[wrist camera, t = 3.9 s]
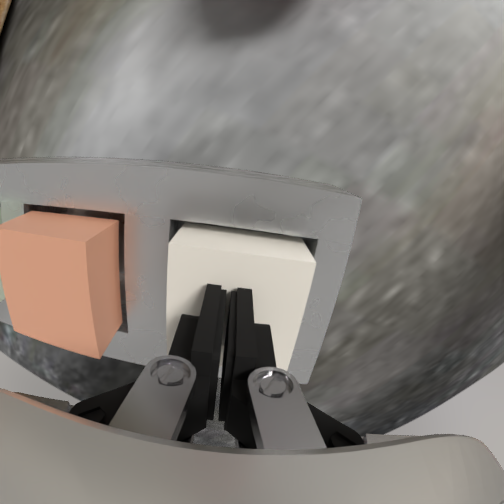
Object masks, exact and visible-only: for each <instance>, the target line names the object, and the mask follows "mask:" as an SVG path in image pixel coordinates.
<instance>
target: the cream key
mask: <svg viewBox="0 0 504 504" xmlns="http://www.w3.org/2000/svg"><path fill="white" fill-rule="evenodd" d="M315 267H316V261H315V259H314V258H313V256H312V255H311V253H310V251H309V250H308V248H307V246H306V245H305V243H304V241H303V240H302V238H298V237H292V236H285V235H278V234H271V233H264V232H256V231H249V230H242V229H234V228H227V227H219V226H212V225H204V224H196V223H188V222H185V223H184V224H183V226H182V227H181V228H180V229H179V231H178V232H177V233H176V234H175V236H174V237H173V238H172V240H171V241H170V242H169V245H168V266H167V303H166V339H167V355H168V354H169V351H170V348H171V345H172V342H173V339H174V336H175V333H176V330H177V327H178V324H179V321H180V318H181V315H182V314H186V315H193V316H200V311H201V307H202V303H203V299H204V295H205V291H206V287H207V283H208V284H215V285H222V287H221V289H224V290H227V294H226V304H225V314H224V324H223V335H222V345H221V355H220V364H219V366H221V367H222V363H223V351H224V343H225V335H226V327H227V320H228V312H229V304H230V297H231V290H232V291H237V288H238V287H239V288H247V289H252V295H253V310H254V323H259V324H269V325H270V327H271V334H272V340H273V347H274V354H275V360H276V367H277V368H280V369H283V370H285V371H287V370H288V366H289V363H290V360H291V356H292V353H293V350H294V346H295V343H296V339H297V336H298V332H299V329H300V325H301V322H302V318H303V314H304V311H305V307H306V303H307V299H308V295H309V292H310V288H311V284H312V280H313V276H314V272H315Z"/></svg>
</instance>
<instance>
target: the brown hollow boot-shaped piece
mask: <svg viewBox="0 0 504 504" xmlns="http://www.w3.org/2000/svg"><path fill="white" fill-rule="evenodd" d="M11 1H12V0H0V34H1V31H2V28H3V25H4V22H5V19H6V16H7V13H8V10H9V7H10V4H11Z"/></svg>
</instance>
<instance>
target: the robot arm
mask: <svg viewBox="0 0 504 504" xmlns="http://www.w3.org/2000/svg"><path fill="white" fill-rule="evenodd" d="M221 287H222V285H215V284H208V283H207V287H206V291H205V295H204V299H203V303H202V307H201V311H200V316H193V315H186V314H182V315H181V318H180V321H179V324H178V327H177V330H176V333H175V336H174V339H173V342H172V345H171V348H170V351H169V354H168V355H163V356H159V357H156V358H154V359H152V360H150V362H149V363H148V364H147V365H146V366H145V368H144V369H143V371H142V373H141V374H140V376H139V377H138V379H137V380H136V382H133V383H131V384H128V385H126V386H123V387H120V388H117V389H115V390H112V391H109V392H106V393H104V394H101V395H98V396H95V397H92V398H89V399H86V400H83V401H81V402H79V403H77V404H76V405H74V406H73V405H69V402H68V401H62V400H55V399H49V398H44V397H38V396H33V395H28V394H24V393H19V392H11V391H8V390H5V389H1V388H0V504H504V470H503V469H502V467H501V465H500V464H499V462H498V461H497V459H496V458H495V456H494V455H493V454H492V452H491V451H490V450H489V449H488V447H487V446H486V445H485V444H484V443H482V442H481V441H479V440H478V439H476V438H473V437H469V436H464V435H455V434H434V435H427V436H401V435H379V434H366V435H365V436H364V437H361V436H360V435H359V434H358V433H357V432H355V431H354V430H352V429H351V428H349V427H347V426H345V425H344V424H342V423H340V422H339V421H337V420H335V419H334V418H332V417H330V416H329V415H327V414H325V413H324V412H322V411H320V410H319V409H317V408H315V407H314V406H312V405H311V404H309V403H307V402H306V399H305V397H304V395H303V393H302V390H301V388H300V386H299V383H298V381H297V380H296V378H295V377H294V376H293V375H292V374H291V373H289V372H287V371H285V370H283V369H280V368H277V367H276V360H275V354H274V347H273V340H272V334H271V327H270V325H269V324H259V323H254V310H253V295H252V289H247V288H239V287H238V288H237V291H232V290H231V297H230V304H229V312H228V320H227V327H226V335H225V343H224V351H223V363H222V376H221V390H220V404H219V419H218V421H225V423H224V430H227V431H228V432H229V433H230V434H231V435H232V436H234V437H235V448H229V447H218V446H208V445H200V444H193V441H194V434H195V433H197V432H199V431H201V430H203V429H204V428H206V422H207V419H208V420H213V418H214V409H215V399H216V390H217V382H218V373H219V364H220V355H221V345H222V335H223V324H224V314H225V304H226V294H227V290H224V289H221Z"/></svg>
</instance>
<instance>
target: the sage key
mask: <svg viewBox="0 0 504 504" xmlns="http://www.w3.org/2000/svg"><path fill="white" fill-rule="evenodd" d="M0 224H2V221H1V207H0ZM4 299H5V294H4V290H3V285H2V280H1V275H0V302H1V301H2V300H4Z"/></svg>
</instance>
